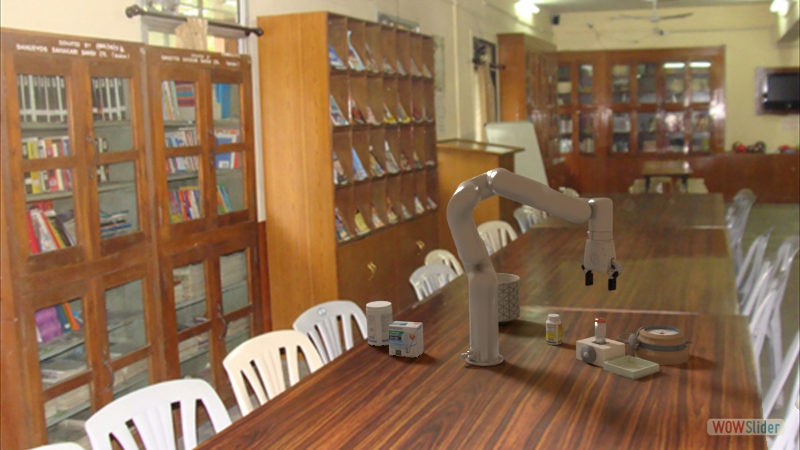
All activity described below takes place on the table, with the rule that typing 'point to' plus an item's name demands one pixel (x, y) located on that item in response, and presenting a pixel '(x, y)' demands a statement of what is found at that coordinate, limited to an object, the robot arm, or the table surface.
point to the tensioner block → (598, 351)
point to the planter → (508, 298)
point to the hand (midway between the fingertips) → (600, 287)
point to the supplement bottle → (553, 330)
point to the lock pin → (600, 331)
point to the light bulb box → (406, 339)
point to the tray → (631, 367)
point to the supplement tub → (378, 322)
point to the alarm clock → (659, 345)
